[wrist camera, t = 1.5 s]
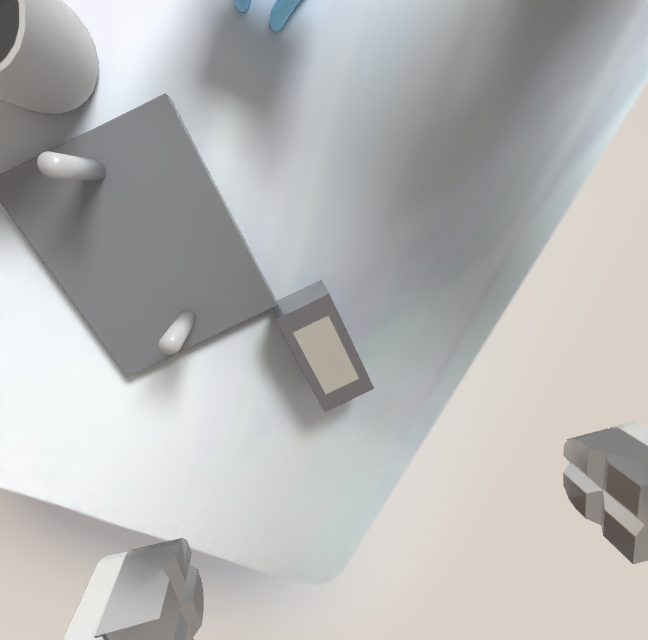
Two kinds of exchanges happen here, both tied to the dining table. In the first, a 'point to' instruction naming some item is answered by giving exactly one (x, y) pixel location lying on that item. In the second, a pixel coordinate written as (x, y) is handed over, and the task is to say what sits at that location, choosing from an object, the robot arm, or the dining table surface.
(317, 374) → the block
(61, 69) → the cup
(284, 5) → the chair
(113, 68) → the dining table surface
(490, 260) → the dining table surface
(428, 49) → the dining table surface
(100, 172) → the grey peg base
